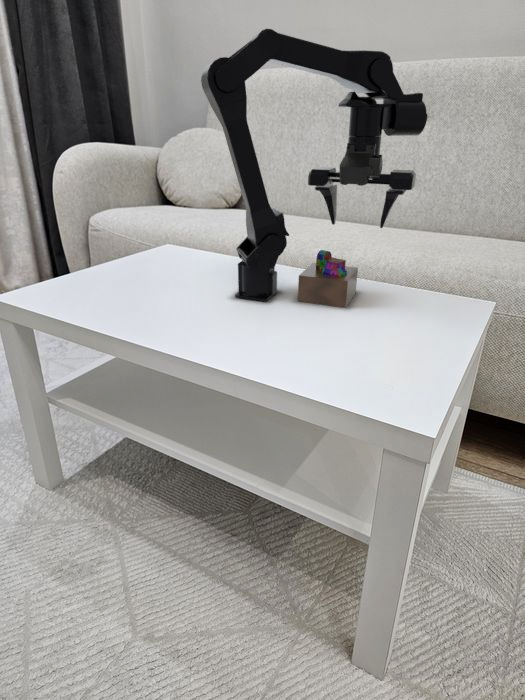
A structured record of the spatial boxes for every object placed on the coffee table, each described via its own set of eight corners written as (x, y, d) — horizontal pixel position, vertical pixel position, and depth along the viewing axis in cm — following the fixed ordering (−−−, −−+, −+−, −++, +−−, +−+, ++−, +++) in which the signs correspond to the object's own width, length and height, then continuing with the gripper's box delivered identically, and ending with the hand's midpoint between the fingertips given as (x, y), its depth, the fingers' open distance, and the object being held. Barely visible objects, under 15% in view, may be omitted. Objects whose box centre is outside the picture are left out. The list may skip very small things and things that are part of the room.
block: (311, 270, 88) (312, 252, 87) (324, 266, 91) (325, 248, 90) (338, 277, 85) (340, 258, 83) (351, 272, 88) (352, 254, 86)
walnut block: (297, 301, 88) (298, 275, 86) (311, 286, 96) (312, 262, 93) (345, 307, 85) (347, 281, 83) (355, 292, 93) (358, 267, 90)
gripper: (300, 137, 80) (297, 230, 87) (414, 139, 74) (401, 239, 81) (318, 135, 89) (314, 219, 96) (421, 136, 83) (409, 226, 90)
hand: (357, 225), depth 91 cm, fingers open, 9 cm apart
